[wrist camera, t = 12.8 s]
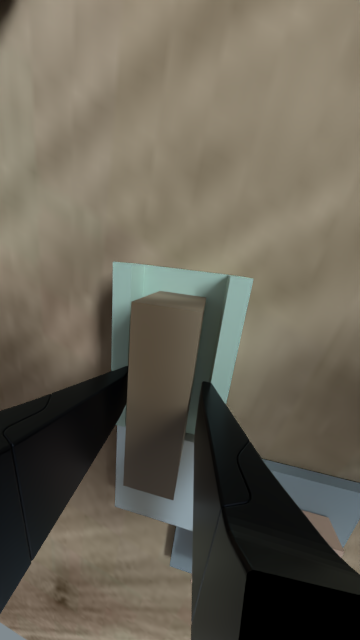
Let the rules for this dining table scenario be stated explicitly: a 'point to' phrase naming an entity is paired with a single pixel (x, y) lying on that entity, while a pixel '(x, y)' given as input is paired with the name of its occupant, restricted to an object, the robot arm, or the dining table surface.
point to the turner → (160, 409)
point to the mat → (308, 493)
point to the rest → (217, 328)
